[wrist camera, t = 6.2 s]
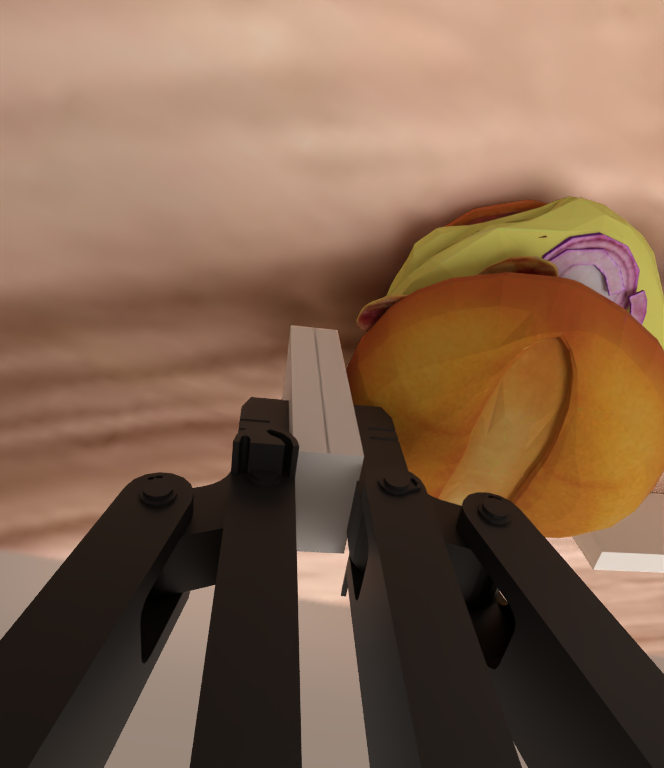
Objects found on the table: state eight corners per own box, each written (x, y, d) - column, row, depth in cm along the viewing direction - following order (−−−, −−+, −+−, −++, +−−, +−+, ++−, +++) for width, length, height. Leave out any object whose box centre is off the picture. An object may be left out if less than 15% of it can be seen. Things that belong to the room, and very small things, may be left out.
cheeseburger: (653, 376, 23) (779, 586, 15) (406, 430, 26) (396, 624, 18) (625, 129, 18) (792, 238, 10) (324, 236, 21) (261, 382, 13)
